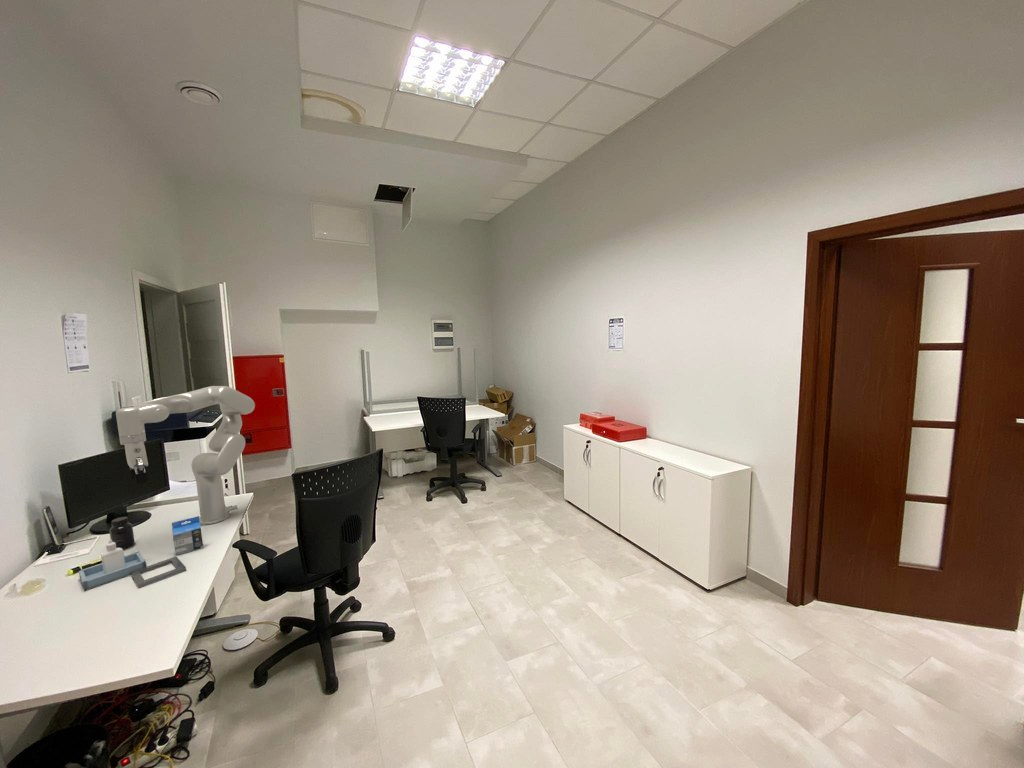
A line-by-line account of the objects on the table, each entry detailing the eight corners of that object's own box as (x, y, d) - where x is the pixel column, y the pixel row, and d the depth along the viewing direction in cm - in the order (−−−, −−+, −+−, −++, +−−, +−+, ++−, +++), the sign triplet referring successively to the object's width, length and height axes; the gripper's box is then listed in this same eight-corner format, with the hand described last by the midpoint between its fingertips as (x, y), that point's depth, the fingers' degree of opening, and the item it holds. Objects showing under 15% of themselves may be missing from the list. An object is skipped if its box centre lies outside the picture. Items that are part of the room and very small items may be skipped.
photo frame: (33, 565, 154) (50, 545, 168) (34, 567, 154) (51, 548, 168) (88, 552, 162) (99, 535, 176) (88, 555, 162) (100, 537, 177)
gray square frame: (176, 559, 156) (176, 556, 156) (186, 570, 148) (185, 567, 148) (130, 575, 146) (130, 572, 146) (138, 588, 138) (138, 585, 138)
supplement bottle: (139, 543, 170) (135, 515, 168) (122, 551, 163) (118, 523, 162) (125, 542, 170) (120, 515, 169) (107, 551, 164) (102, 522, 162)
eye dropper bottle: (123, 572, 147) (118, 540, 145) (102, 576, 144) (97, 544, 143) (127, 566, 151) (122, 535, 149) (106, 570, 148) (102, 539, 147)
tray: (139, 558, 157) (138, 551, 157) (146, 569, 150) (145, 561, 149) (79, 578, 145) (78, 570, 144) (84, 591, 137) (83, 582, 137)
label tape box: (175, 556, 158) (171, 525, 157) (175, 552, 161) (171, 522, 160) (203, 548, 164) (199, 518, 162) (202, 544, 167) (199, 515, 166)
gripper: (150, 439, 157) (156, 482, 159) (140, 434, 168) (146, 474, 170) (124, 443, 152) (130, 488, 154) (115, 437, 162) (122, 479, 164)
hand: (139, 480), depth 162 cm, fingers open, 9 cm apart
